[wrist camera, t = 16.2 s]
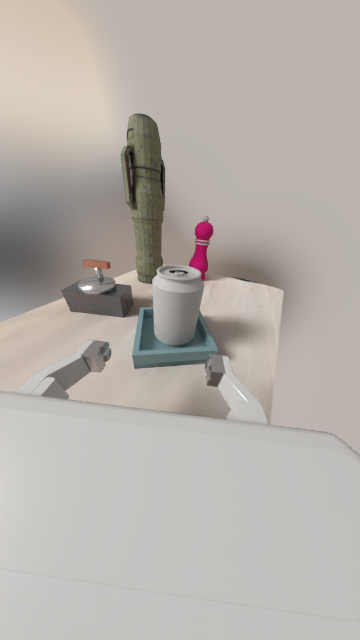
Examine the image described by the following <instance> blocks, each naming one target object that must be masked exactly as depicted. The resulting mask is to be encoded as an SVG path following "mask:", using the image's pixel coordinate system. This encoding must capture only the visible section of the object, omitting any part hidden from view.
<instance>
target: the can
mask: <svg viewBox="0 0 360 640" xmlns="http://www.w3.org/2000/svg"><path fill="white" fill-rule="evenodd" d="M157 273H158V274H157V275H156V276H155V277H154V278H153V280H152V284H153V312H154V334H155V336H156V337H157V339H158V340H160V341H161V342H163V343H165V344H168V345H174V346H176V345H183V344H186V343H188V342H189V341H191V340H192V339H193V337H194V335H195V330H196V324H197V319H198V314H199V309H200V304H201V299H202V294H203V289H204V283H203V281H202V280H201V278H200V277H201V272H200V271H199V270H197V269H195V268H192V267H189V266H183V265H165V266H161V267H159V268H158V269H157Z"/></svg>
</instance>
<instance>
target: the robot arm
mask: <svg viewBox="0 0 360 640" xmlns="http://www.w3.org/2000/svg"><path fill="white" fill-rule="evenodd" d="M110 356H111V349H110V348H109V343H108V342H102V341H96V340H87V341H86V342H85V343H84V344H83V345H82V346H81V348H80V349H79V350H78V351H77V352H76V353H75V354H74V355H71V356H69V357H67V358H65V359H63V360H61V361H59V362H57V363H55V364H53V365H51V366H49V367H47V368H45V369H43V370H41V371H39V372H37V373H35V374H33V375H32V376H31V377H30V378H29V379H28V380H27V381H26V382H25V383H24V384H23V385H22V386H21V387H20V388H19V389H18V390H17V391H16V392H15V393H13V392H5V391H0V640H360V455H359V454H358V453H356V452H355V451H354V450H353V449H352V448H351V447H350V446H348V445H347V444H346V443H345V442H343V441H342V440H341V439H340V438H338V437H337V436H336V435H333V434H331V433H328V432H321V431H314V430H306V429H298V428H290V427H282V426H274V425H268V422H267V419H266V416H265V414H264V411H263V408H262V405H261V403H260V402H259V400H258V399H257V398H256V397H255V396H254V395H253V394H252V393H251V392H250V391H249V390H248V388H247V387H246V386H245V385H244V384H243V383H242V382H241V381H240V380H239V379H238V377H237V376H236V375H233V372H232V368H231V364H230V360H229V357H228V356H221V355H213V354H209V355H208V360H207V361H206V366H205V371H206V373H207V376H206V383H207V386H214V387H217V388H218V389H219V391H220V392H221V394H222V396H223V397H224V399H225V400H226V402H227V404H228V405H229V407H230V408H231V411H230V412H229V414H228V415H227V416H226V419H219V418H211V417H203V416H195V415H187V414H179V413H171V412H164V411H156V410H148V409H140V408H132V407H124V406H116V405H108V404H100V403H92V402H84V401H77V400H69V399H68V398H69V395H68V394H67V392H66V390H67V389H68V388H70V387H71V386H72V385H74V384H75V383H76V382H78V381H79V380H80V379H82V378H83V377H84V376H86V375H87V374H88V373H90V371H91V372H102V370H103V369H104V367H105V362H107V361H108V360H109V359H110Z"/></svg>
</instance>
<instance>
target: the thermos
mask: <svg viewBox="0 0 360 640" xmlns="http://www.w3.org/2000/svg"><path fill="white" fill-rule="evenodd" d="M121 161H122V171H123V179H124V187H125V197H126V203H127V204H128V205H129V207H130V208H131V215H132V219H133V221H134V228H135V237H136V248H137V256H136V267H137V273H138V280H139V281H140V282H143V283H150V284H151V283H152V280H153V278H154V277H155V276H156V275H157V274H158V273H157V269H158V268H159V267H161V266H163V259H162V256H161V224H162V222H163V211H164V204H165V166H164V163H163V160H162V158H161V143H160V137H159V133H158V127H157V124H156V122H155V121H153V119H151V118H150V117H149V116H147V115H144V114H134V115H133V116H131V117H130V118H129V123H128V131H127V146H125V147H124V148H123V150H122V153H121ZM130 170H131V176H130Z"/></svg>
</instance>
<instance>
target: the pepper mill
mask: <svg viewBox="0 0 360 640" xmlns="http://www.w3.org/2000/svg"><path fill="white" fill-rule="evenodd" d="M208 219H209V218H208V216H204V218H203V221H204V222H200V223H199V224H198V225H197V226H196V228H195V235H196V237H197V239H195V240H196V241H195V244H196V249H195V253H194V256H193V258H192V259H191V261H190V263H189V267H192V268H195V269H197V270H199V271H200V272H201V277H200V278H201V280H202V281H203V280H204V279H205V274H204V273H205V272H206V271H207V270H208V261H207V257H206V252H207V247H208V245H209V242H210V240H209V239H210V237H211V236H212V235H213V227H212V225H211V224H210V223H208Z"/></svg>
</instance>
